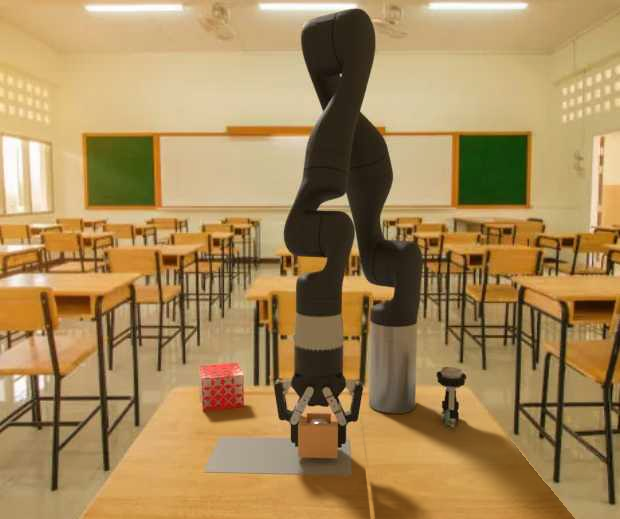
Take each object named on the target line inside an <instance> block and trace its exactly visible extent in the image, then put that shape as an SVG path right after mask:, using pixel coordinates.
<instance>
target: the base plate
mask: <svg viewBox="0 0 620 519" xmlns="http://www.w3.org/2000/svg"><path fill="white" fill-rule="evenodd" d="M351 456H352V455H351V439H350V438H346V442H345V444H342V448H338V458H324V459H314V458H305V457H298V447H295V443H292V442H291V437H263V436H260V437H259V436H219V437H218V439H217V442H216V443H215V446H214V448H213V450H212V452H211V454H210V457H209V459H208V461H207V463H206V465H205V467H204V469H203V473H214V474H215V473H218V474H220V473H222V474H223V473H224V474H225V473H226V474H260V475H261V474H262V475H263V474H264V475H306V476H307V475H309V476H347V477H349V476H350V477H351V476H353V473H352V457H351Z"/></svg>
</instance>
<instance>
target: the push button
mask: <svg viewBox="0 0 620 519" xmlns="http://www.w3.org/2000/svg"><path fill="white" fill-rule="evenodd" d="M436 377H437V383H439V385H441V386H442V387H443V388H445V394H444V400H442V401H441V408H442V411H441V421H443V419H444V422H445V425H446V426H448V427H450V428H456V427H457V422H459V419H460V417H459V416H460V415H459V409H460V403H459V401H458V400H457V389H459V388H461V387H462V386H464V385H465V384H466V382H465V381H466V380H467V375H466V374H465V373H463V372H462V369H461V368H460V367H455V366H443V367H442V368H441V370H440V371H438V372H436Z"/></svg>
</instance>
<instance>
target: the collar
mask: <svg viewBox="0 0 620 519" xmlns="http://www.w3.org/2000/svg"><path fill="white" fill-rule="evenodd" d="M313 419H325V420H326V421H327V423H311V420H313ZM298 457H305V458H338V420H337V418H336V416H335V414H334V413H333V412H332V410H304V412H303V413H302V415H301V417H300V419H299V423H298Z"/></svg>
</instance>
